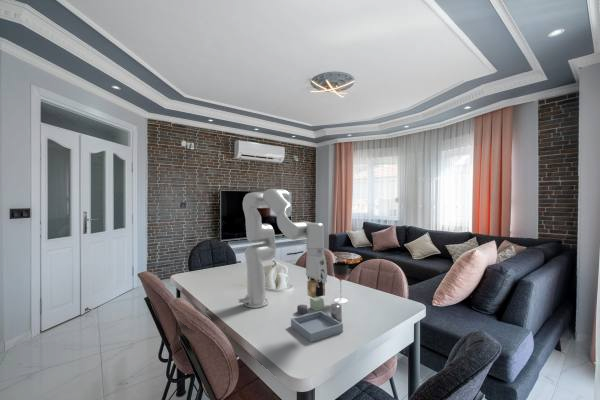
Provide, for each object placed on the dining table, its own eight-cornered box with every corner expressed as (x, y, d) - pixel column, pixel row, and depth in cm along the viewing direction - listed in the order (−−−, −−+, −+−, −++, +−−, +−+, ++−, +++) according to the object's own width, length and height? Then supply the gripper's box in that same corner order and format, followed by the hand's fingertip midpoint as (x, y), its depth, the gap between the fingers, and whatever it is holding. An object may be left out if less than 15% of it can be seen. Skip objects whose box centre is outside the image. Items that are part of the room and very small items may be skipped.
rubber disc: (300, 315, 131) (300, 309, 131) (295, 311, 135) (295, 305, 135) (309, 313, 133) (309, 307, 133) (304, 309, 138) (304, 303, 138)
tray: (310, 342, 106) (310, 333, 106) (291, 326, 119) (290, 318, 119) (342, 331, 114) (342, 323, 114) (320, 317, 128) (320, 310, 128)
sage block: (315, 311, 136) (315, 301, 136) (310, 307, 140) (310, 298, 140) (323, 308, 138) (323, 299, 138) (318, 305, 143) (318, 296, 143)
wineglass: (339, 304, 143) (339, 266, 144) (330, 299, 151) (329, 263, 151) (351, 301, 147) (351, 264, 147) (342, 296, 155) (341, 261, 155)
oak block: (325, 295, 116) (324, 281, 116) (313, 298, 113) (313, 283, 113) (318, 292, 120) (318, 278, 120) (307, 295, 117) (307, 281, 117)
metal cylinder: (335, 324, 121) (335, 308, 121) (328, 320, 125) (328, 305, 125) (343, 321, 123) (343, 306, 123) (337, 317, 127) (336, 302, 128)
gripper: (334, 253, 111) (335, 298, 111) (311, 248, 126) (312, 287, 126) (319, 255, 107) (320, 302, 107) (297, 249, 122) (298, 290, 122)
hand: (316, 293), depth 117 cm, fingers closed on oak block, 4 cm apart
